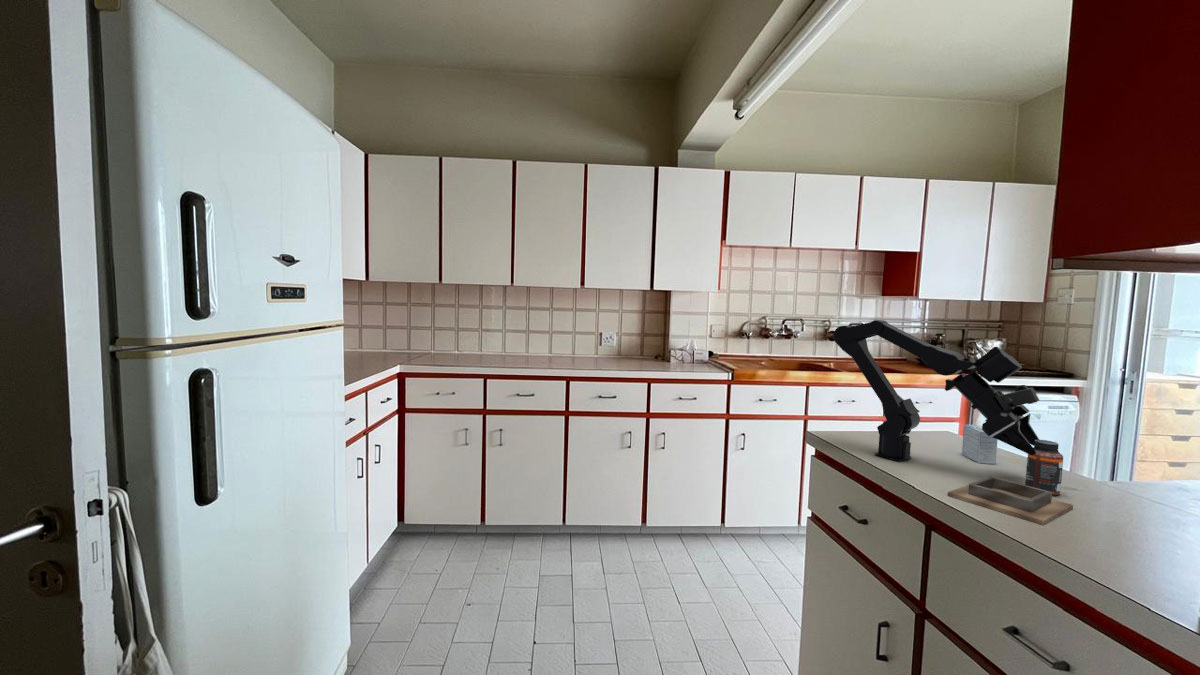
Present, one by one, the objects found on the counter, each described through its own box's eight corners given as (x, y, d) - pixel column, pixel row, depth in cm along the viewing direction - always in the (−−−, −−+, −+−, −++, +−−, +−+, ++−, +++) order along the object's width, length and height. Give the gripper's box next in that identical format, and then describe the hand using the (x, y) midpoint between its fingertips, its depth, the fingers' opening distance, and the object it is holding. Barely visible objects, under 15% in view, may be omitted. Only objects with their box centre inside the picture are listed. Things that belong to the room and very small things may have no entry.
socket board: (947, 495, 107) (948, 481, 107) (980, 483, 115) (981, 470, 115) (1042, 525, 93) (1044, 509, 93) (1072, 508, 102) (1074, 494, 102)
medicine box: (996, 464, 130) (999, 432, 130) (977, 463, 131) (980, 431, 131) (978, 456, 138) (981, 425, 138) (961, 454, 139) (963, 423, 138)
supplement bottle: (1067, 497, 109) (1072, 446, 108) (1040, 496, 109) (1044, 445, 108) (1044, 487, 114) (1048, 438, 114) (1017, 486, 115) (1022, 437, 114)
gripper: (1004, 376, 109) (1069, 437, 101) (1020, 371, 121) (1079, 424, 114) (958, 406, 115) (1016, 465, 108) (978, 398, 127) (1031, 450, 120)
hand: (1037, 450), depth 112 cm, fingers open, 9 cm apart
